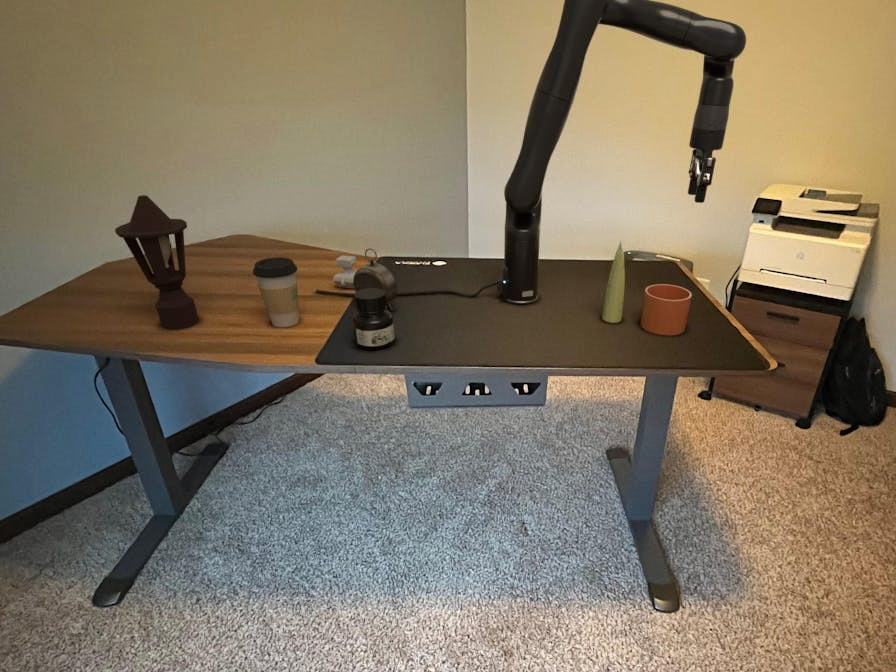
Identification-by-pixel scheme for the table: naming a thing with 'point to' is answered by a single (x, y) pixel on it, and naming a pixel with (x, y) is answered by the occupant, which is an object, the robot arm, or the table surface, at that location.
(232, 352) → the table surface
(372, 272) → the alarm clock
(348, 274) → the stamp
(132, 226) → the lantern
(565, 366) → the table surface
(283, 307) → the coffee cup
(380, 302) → the ink bottle
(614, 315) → the tube
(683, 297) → the pen cup
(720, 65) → the robot arm
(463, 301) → the table surface
